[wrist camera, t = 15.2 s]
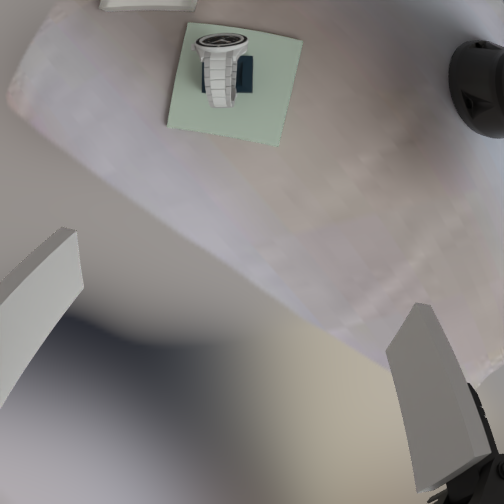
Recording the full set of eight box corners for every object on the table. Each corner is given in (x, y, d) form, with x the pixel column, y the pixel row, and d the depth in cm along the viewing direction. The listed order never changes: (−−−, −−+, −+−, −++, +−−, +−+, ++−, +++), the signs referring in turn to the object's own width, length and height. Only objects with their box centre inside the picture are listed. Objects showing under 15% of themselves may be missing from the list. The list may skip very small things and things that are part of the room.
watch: (253, 44, 30) (251, 22, 20) (252, 107, 34) (249, 108, 24) (206, 45, 30) (185, 24, 21) (205, 107, 34) (184, 109, 24)
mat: (302, 42, 31) (303, 41, 30) (277, 146, 37) (278, 147, 36) (189, 23, 29) (188, 22, 29) (168, 126, 36) (166, 127, 35)
